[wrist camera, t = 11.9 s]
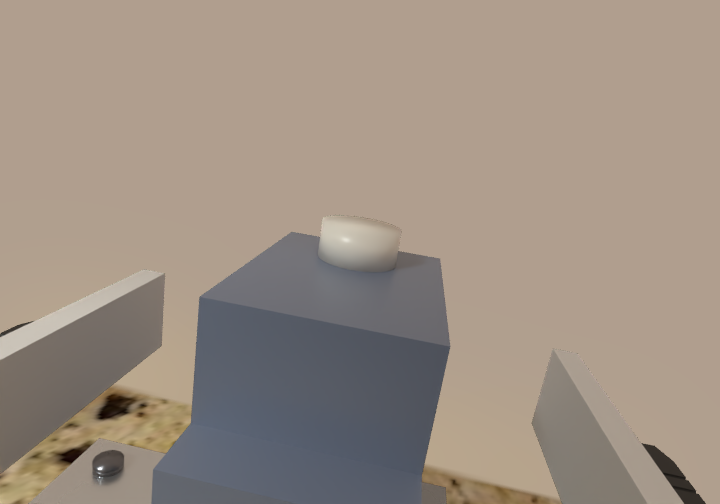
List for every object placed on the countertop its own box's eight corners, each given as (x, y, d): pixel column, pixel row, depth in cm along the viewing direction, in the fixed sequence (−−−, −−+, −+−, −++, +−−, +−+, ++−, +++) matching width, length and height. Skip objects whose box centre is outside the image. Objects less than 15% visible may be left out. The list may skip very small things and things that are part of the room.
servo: (137, 808, 11) (161, 266, 7) (268, 503, 20) (306, 196, 16) (343, 872, 10) (467, 325, 7) (381, 531, 19) (444, 220, 16)
